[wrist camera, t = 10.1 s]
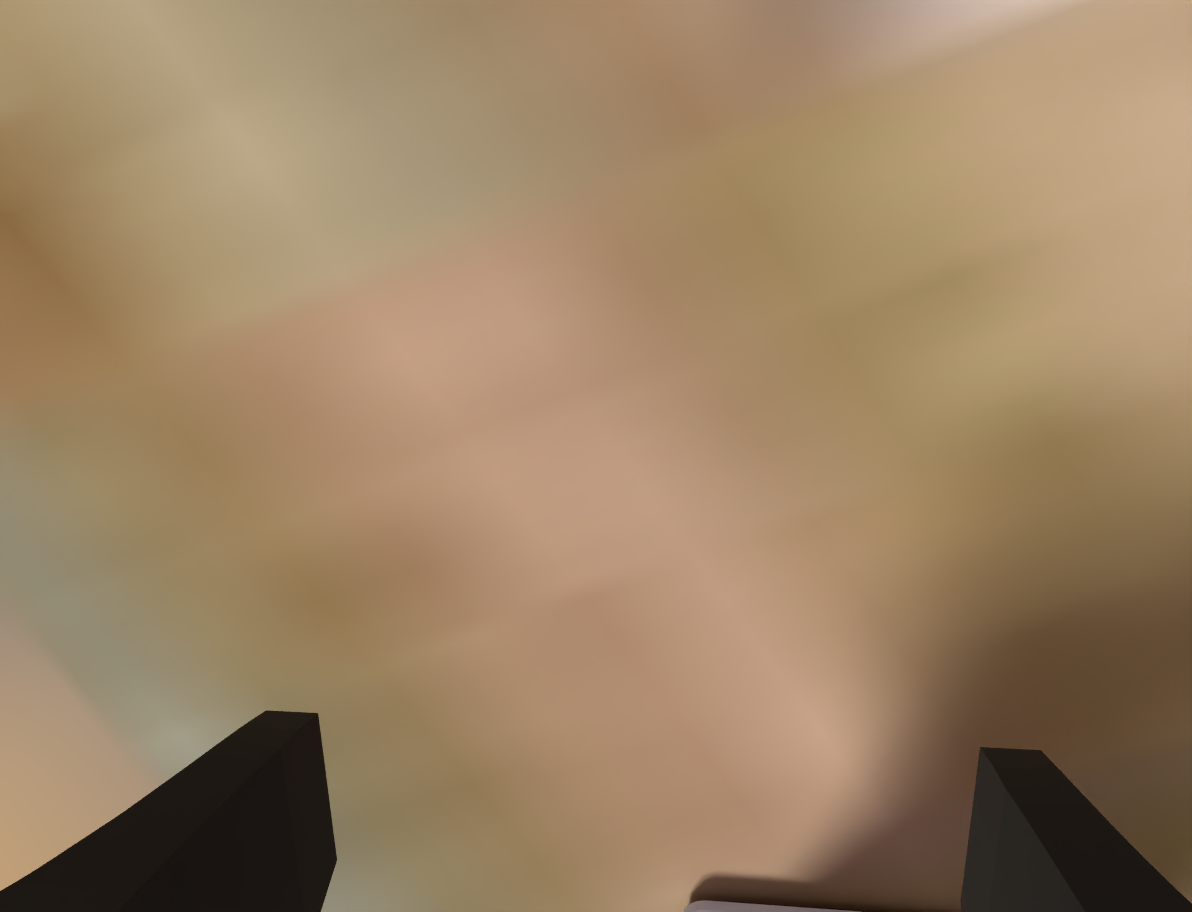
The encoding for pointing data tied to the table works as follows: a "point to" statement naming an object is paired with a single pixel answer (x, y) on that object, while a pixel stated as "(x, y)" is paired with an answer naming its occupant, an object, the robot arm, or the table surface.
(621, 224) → the table surface
